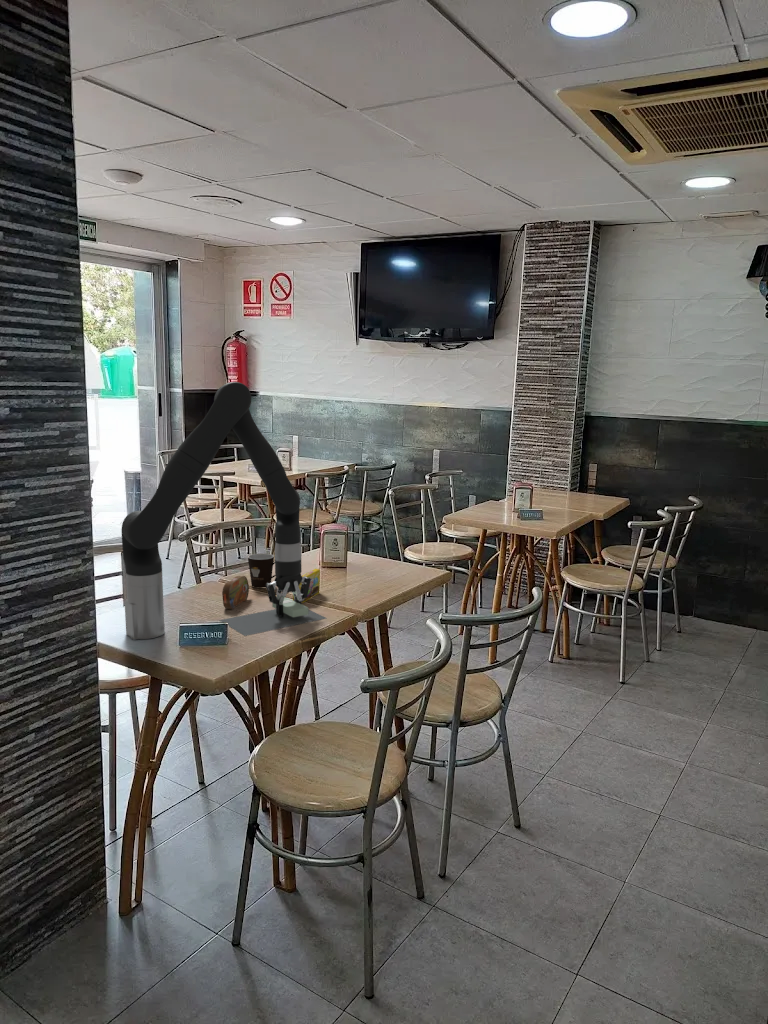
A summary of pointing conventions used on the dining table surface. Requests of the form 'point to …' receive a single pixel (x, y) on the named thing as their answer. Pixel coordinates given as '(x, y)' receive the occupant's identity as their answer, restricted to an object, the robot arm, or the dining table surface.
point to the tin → (235, 592)
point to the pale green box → (293, 608)
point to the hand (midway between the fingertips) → (288, 614)
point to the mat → (268, 621)
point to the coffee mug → (261, 569)
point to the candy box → (312, 584)
